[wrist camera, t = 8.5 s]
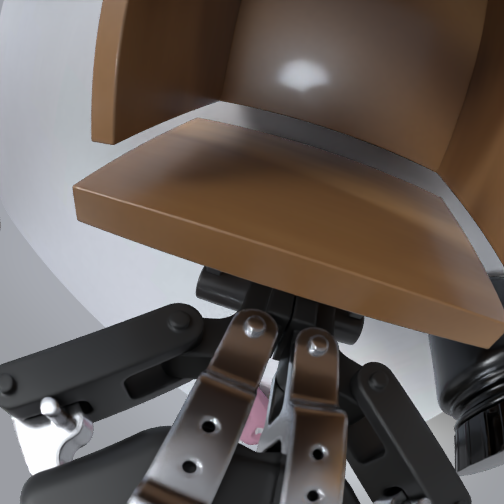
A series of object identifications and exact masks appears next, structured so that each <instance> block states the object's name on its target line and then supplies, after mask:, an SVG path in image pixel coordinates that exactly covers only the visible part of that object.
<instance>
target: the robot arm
mask: <svg viewBox="0 0 504 504" xmlns="http://www.w3.org/2000/svg"><path fill="white" fill-rule="evenodd" d="M335 310H336V307H332V306H329V305H326V304H322V303H319V302H316V301H313V300H309V299H306V298H303V297H300V296H296V295H293V294H290V293H287V292H284V291H280V290H277V289H274V288H271V287H268V286H265V285H262V284H258V283H255V282H252V281H251V282H250V285H249V287H248V290H247V293H246V295H245V298H244V300H243V303H242V306H241V308H240V309H239V310H238V311H237V312H236V313H235V314H234V315H232V316H230V317H227V318H221V319H212V318H202V316H201V314H200V313H199V311H198V310H196V309H195V308H194V307H192V306H190V305H187V304H183V303H174V304H170V305H167V306H164V307H161V308H159V309H156V310H153V311H151V312H148V313H145V314H143V315H140V316H137V317H134V318H132V319H129V320H126V321H124V322H121V323H118V324H115V325H113V326H110V327H107V328H104V329H102V330H99V331H96V332H93V333H91V334H88V335H85V336H82V337H79V338H76V339H74V340H71V341H68V342H65V343H62V344H60V345H57V346H54V347H51V348H48V349H45V350H42V351H39V352H37V353H34V354H31V355H28V356H25V357H22V358H19V359H16V360H13V361H10V362H7V363H4V364H1V365H0V407H1V408H2V409H4V410H5V411H6V412H8V414H9V415H10V416H11V419H12V422H13V426H14V429H15V432H16V436H17V439H18V442H19V445H20V448H21V451H22V453H23V456H24V459H25V461H26V464H27V467H28V469H29V472H30V474H31V477H30V478H29V479H28V480H27V482H26V483H25V484H24V486H23V489H22V491H21V496H20V504H360V502H359V501H358V499H357V497H356V495H355V493H354V491H353V489H352V487H351V486H350V484H349V483H348V482H347V480H346V479H345V470H346V459H347V461H348V462H349V464H350V466H351V468H352V469H353V471H354V473H355V474H356V476H357V478H358V479H359V481H360V482H361V484H362V486H363V487H364V489H365V491H366V492H367V494H368V496H369V497H370V499H371V501H372V502H373V504H471V497H470V495H469V493H468V491H467V489H466V488H465V486H464V484H463V482H462V481H461V479H460V477H459V476H458V474H457V472H456V471H455V469H454V467H453V466H452V464H451V462H450V461H449V459H448V458H447V456H446V454H445V452H444V451H443V449H442V448H441V446H440V444H439V443H438V441H437V440H436V438H435V436H434V435H433V433H432V432H431V430H430V428H429V427H428V425H427V424H426V422H425V421H424V419H423V418H422V416H421V415H420V413H419V412H418V410H417V408H416V407H415V405H414V404H413V402H412V401H411V399H410V398H409V396H408V395H407V393H406V392H405V390H404V389H403V387H402V386H401V385H400V383H399V382H398V380H397V379H396V377H395V376H394V374H393V373H392V372H391V370H390V369H389V368H388V367H386V366H385V365H383V364H381V363H378V362H369V363H367V364H365V365H364V366H361V365H359V364H358V363H356V362H354V361H353V360H351V359H349V358H348V357H346V356H345V355H344V354H343V353H342V352H341V351H340V350H339V346H338V343H337V341H336V339H335V338H334V325H335ZM273 352H274V354H273ZM272 354H273V358H272V359H274V360H278V361H279V364H278V368H277V371H276V373H275V375H274V377H273V379H272V384H271V391H270V397H269V402H268V408H267V414H266V420H265V425H264V429H263V431H262V434H261V436H260V439H259V442H258V446H257V451H256V452H255V451H253V450H251V449H249V448H247V447H245V446H243V445H242V444H240V443H238V442H239V439H240V437H241V434H242V432H243V429H244V427H245V424H246V422H247V419H248V417H249V414H250V412H251V409H252V407H253V404H254V402H255V399H256V396H257V390H258V387H259V384H260V382H261V379H262V376H263V374H264V371H265V368H266V365H267V363H268V360H269V358H271V356H272ZM193 379H197V380H196V382H195V384H194V386H193V388H192V390H191V391H190V393H189V395H188V397H187V399H186V401H185V403H184V405H183V407H182V408H181V410H180V412H179V414H178V416H177V418H176V419H175V421H174V423H173V425H172V426H160V427H155V428H150V429H147V430H144V431H141V432H139V433H137V434H135V435H133V436H131V437H128V438H126V439H124V440H122V441H120V442H117V443H115V444H113V445H110V446H108V447H106V448H103V449H101V450H98V451H96V452H94V453H91V454H88V455H86V456H84V457H81V458H78V459H75V460H73V456H74V454H75V452H76V451H77V450H78V449H79V448H81V447H83V446H84V445H86V444H87V443H88V442H89V441H90V440H91V438H92V436H93V431H94V429H93V423H94V422H96V421H99V420H101V419H104V418H107V417H109V416H112V415H114V414H117V413H119V412H122V411H124V410H127V409H129V408H132V407H134V406H137V405H139V404H141V403H144V402H146V401H148V400H151V399H153V398H155V397H157V396H160V395H162V394H164V393H166V392H168V391H171V390H173V389H175V388H177V387H179V386H181V385H183V384H186V383H188V382H190V381H191V380H193ZM72 460H73V461H72Z"/></svg>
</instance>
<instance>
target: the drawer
mask: <svg viewBox="0 0 504 504" xmlns="http://www.w3.org/2000/svg"><path fill="white" fill-rule="evenodd" d="M218 101H224V102H229V103H234V104H239V105H244V106H248V107H253V108H257V109H261V110H265V111H269V112H273V113H277V114H281V115H285V116H289V117H292V118H296V119H299V120H303V121H306V122H309V123H313V124H316V125H319V126H322V127H325V128H328V129H331V130H334V131H337V132H340V133H343V134H346V135H349V136H352V137H354V138H357V139H360V140H362V141H365V142H368V143H370V144H373V145H375V146H378V147H380V148H383V149H385V150H388V151H390V152H392V153H395V154H397V155H399V156H402V157H404V158H406V159H409V160H411V161H413V162H415V163H417V164H419V165H422V166H424V167H426V168H428V169H430V170H432V171H434V172H436V173H437V174H438V175H439V176H440V177H441V178H442V180H443V181H444V182H445V183H446V184H447V186H448V187H449V188H450V189H451V191H452V192H453V193H454V194H455V196H456V197H457V198H458V199H459V201H460V202H461V203H462V205H463V206H464V207H465V209H466V210H467V211H468V213H469V214H470V215H471V217H472V218H473V219H474V221H475V222H476V224H477V225H478V227H479V228H480V229H481V231H482V232H483V234H484V235H485V237H486V238H487V240H488V241H489V243H490V245H491V246H492V248H493V249H494V251H495V253H496V254H497V256H498V257H499V259H500V261H501V263H502V264H503V266H504V0H103V3H102V8H101V14H100V19H99V26H98V32H97V40H96V48H95V57H94V68H93V82H92V106H91V139H92V141H93V142H99V143H104V144H110V145H115V144H117V143H119V142H121V141H123V140H125V139H127V138H129V137H131V136H133V135H135V134H138V133H140V132H142V131H144V130H146V129H149V128H151V127H153V126H155V125H158V124H160V123H162V122H165V121H167V120H169V119H172V118H174V117H177V116H179V115H182V114H184V113H187V112H190V111H192V110H195V109H198V108H200V107H203V106H206V105H209V104H212V103H215V102H218ZM73 195H74V202H75V209H76V215H77V220H78V221H80V222H83V223H85V224H88V225H91V226H93V227H96V228H99V229H102V230H104V231H107V232H110V233H112V234H115V235H118V236H121V237H123V238H126V239H129V240H132V241H135V242H137V243H140V244H143V245H146V246H149V247H151V248H154V249H157V250H160V251H163V252H166V253H169V254H172V255H174V256H177V257H180V258H183V259H186V260H189V261H192V262H195V263H198V264H201V265H204V267H203V269H202V271H201V274H200V276H199V279H198V283H197V287H196V297H197V298H200V299H203V300H206V301H208V302H211V303H214V304H217V305H220V306H223V307H226V308H229V309H232V310H235V311H238V310H239V309H240V308H241V306H242V303H243V300H244V298H245V295H246V293H247V290H248V287H249V285H250V282H251V281H252V282H255V283H258V284H262V285H265V286H268V287H271V288H274V289H277V290H280V291H284V292H287V293H290V294H293V295H296V296H300V297H303V298H306V299H309V300H313V301H316V302H319V303H322V304H326V305H329V306H332V307H336V310H335V325H334V338H335V339H336V341H337V342H341V343H345V344H349V345H353V344H354V343H355V342H356V341H357V340H358V338H359V336H360V334H361V331H362V328H363V324H364V316H366V317H370V318H373V319H377V320H380V321H384V322H387V323H391V324H394V325H398V326H402V327H405V328H409V329H412V330H416V331H420V332H423V333H427V334H431V335H435V336H438V337H442V338H446V339H450V340H454V341H457V342H461V343H465V344H469V345H473V346H477V347H481V348H485V349H489V348H490V347H491V346H492V345H493V344H494V343H495V342H496V341H497V340H498V339H499V338H500V337H501V336H502V335H503V334H504V309H503V306H502V304H501V302H500V299H499V297H498V295H497V293H496V291H495V289H494V286H493V284H492V282H491V280H490V278H489V276H488V274H487V272H486V270H485V268H484V267H483V265H482V263H481V261H480V259H479V257H478V255H477V254H476V252H475V250H474V248H473V247H472V245H471V243H470V241H469V240H468V238H467V236H466V235H465V233H464V231H463V230H462V228H461V227H460V225H459V223H458V222H457V220H456V219H455V217H454V216H453V214H452V213H451V211H450V210H449V208H448V207H447V205H446V204H445V202H444V201H443V199H442V198H441V197H439V196H437V195H435V194H433V193H431V192H428V191H426V190H424V189H422V188H420V187H418V186H415V185H413V184H411V183H409V182H406V181H404V180H402V179H399V178H397V177H395V176H392V175H390V174H387V173H385V172H382V171H380V170H377V169H375V168H372V167H370V166H367V165H364V164H362V163H359V162H356V161H354V160H351V159H348V158H345V157H343V156H340V155H337V154H334V153H331V152H328V151H325V150H322V149H319V148H316V147H313V146H309V145H306V144H303V143H300V142H296V141H293V140H289V139H286V138H282V137H279V136H275V135H271V134H268V133H264V132H260V131H256V130H252V129H248V128H244V127H239V126H235V125H231V124H226V123H221V122H217V121H212V120H207V119H202V118H195V119H193V120H191V121H189V122H186V123H184V124H182V125H180V126H178V127H176V128H174V129H171V130H169V131H167V132H165V133H163V134H161V135H159V136H157V137H155V138H153V139H151V140H149V141H147V142H146V143H144V144H142V145H140V146H138V147H136V148H134V149H133V150H131V151H129V152H127V153H125V154H124V155H122V156H120V157H118V158H117V159H115V160H113V161H111V162H110V163H108V164H106V165H105V166H103V167H101V168H100V169H98V170H97V171H95V172H93V173H92V174H90V175H89V176H87V177H85V178H84V179H82V180H81V181H79V182H78V183H76V184H75V185H73Z"/></svg>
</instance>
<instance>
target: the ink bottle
mask: <svg viewBox="0 0 504 504" xmlns="http://www.w3.org/2000/svg"><path fill="white" fill-rule="evenodd" d="M489 278H490V280H491V282H492V284H493V286H494V289H495V291H496V293H497V295H498V297H499V299H500V302H501V304H502V306H503V309H504V277H489ZM429 343H430V348H431V355H432V361H433V368H434V375H435V383H436V392H437V400H438V404H439V406H440V408H441V409H442V411H443V412H445V413H446V414H448V415H450V416H453V418H454V419H456V420H457V422H456V424H455V428H454V429H455V436H454V441H455V471H456V472H457V474H458V476H464V475H471V474H475V473H478V472H483V471H486V470H489V469H492V468H495V467H497V466H500V465H503V464H504V334H503V335H502V336H501V337H500V338H499V339H498V340H497V341H496V342H495V343H494V344H493V345H492V346H491V347H490V348H489V349H485V348H481V347H477V346H473V345H469V344H465V343H461V342H457V341H454V340H450V339H446V338H442V337H438V336H435V335H431V334H429Z"/></svg>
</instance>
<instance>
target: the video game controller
mask: <svg viewBox="0 0 504 504" xmlns="http://www.w3.org/2000/svg"><path fill="white" fill-rule="evenodd" d="M268 402H269V400H268V398H267V397H266V396H265V394H264V393H263V392H262V391H261V390H260V389H259V388H258V390H257V396H256V399H255V402H254V404H253V407H252V409H251V412H250V414H249V417H248V419H247V422H246V424H245V427H244V429H243V432H242V434H241V437H240V439H239V443H240V444H241V443H243V442H244V443H246V444H248V445H254V444H258V442H259V439H260V436H261V434H262V431H263V429H264V425H265V420H266V414H267V408H268Z"/></svg>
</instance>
